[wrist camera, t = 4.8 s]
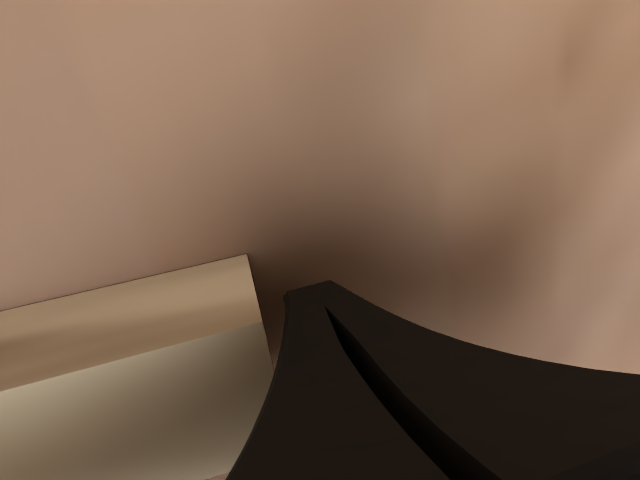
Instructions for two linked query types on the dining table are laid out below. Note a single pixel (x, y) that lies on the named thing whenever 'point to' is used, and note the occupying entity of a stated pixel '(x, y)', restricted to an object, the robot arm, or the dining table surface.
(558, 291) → the dining table surface
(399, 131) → the dining table surface
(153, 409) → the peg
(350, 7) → the dining table surface
